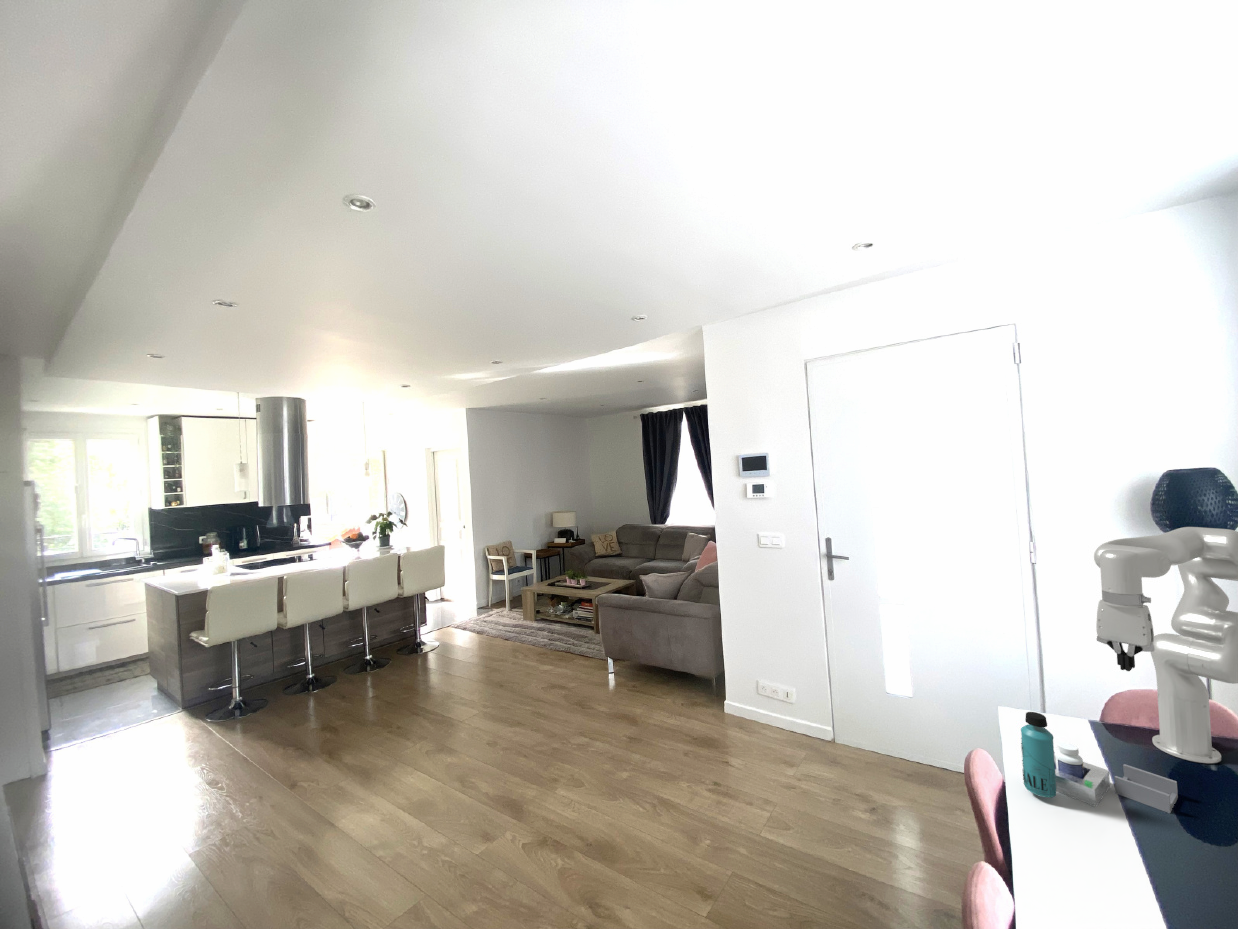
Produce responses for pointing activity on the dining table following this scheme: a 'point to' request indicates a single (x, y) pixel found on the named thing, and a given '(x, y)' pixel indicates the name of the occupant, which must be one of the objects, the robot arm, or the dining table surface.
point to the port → (1084, 784)
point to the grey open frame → (1147, 788)
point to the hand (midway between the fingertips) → (1126, 669)
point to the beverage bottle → (1038, 756)
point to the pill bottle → (1069, 760)
